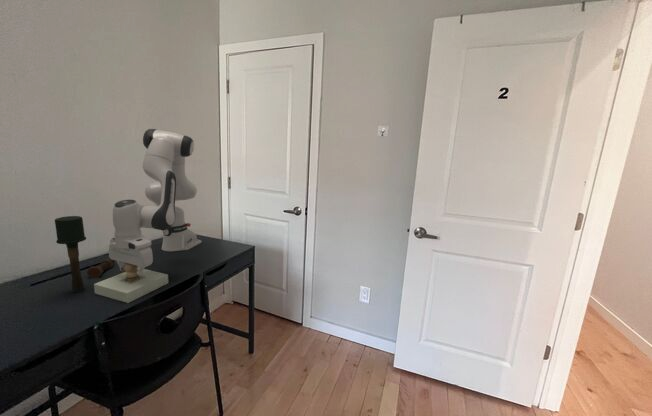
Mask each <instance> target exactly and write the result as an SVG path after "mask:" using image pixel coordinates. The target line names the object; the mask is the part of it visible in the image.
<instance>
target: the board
mask: <svg viewBox="0 0 652 416" xmlns="http://www.w3.org/2000/svg"><path fill="white" fill-rule="evenodd" d="M138 270H139V268H138ZM137 279H138V280H135V281H133V282H129V281H128V279H127V278H126V271H123V272H122V273H119V274H116V275H114V276H112V277H109V278H106V279H104V280H101V281H98V282H96V283H94V284H93V288H94V294H95V295H99V296H103V297H106V298H109V299H112V300H115V301H120V302H123V303H126V304H129V303H131V302H133V301H135V300H137V299H139V298H142V297H144V296H145V295H147V294H149V293H151V292H153V291H155V290H157V289H159V288H161V287H163V286H166V285H167V284H169V274H168V273H163V272H160V271H155V270H151V269H146V268H144V270H143V275H139V276H138V277H137Z"/></svg>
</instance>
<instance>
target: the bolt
mask: <svg viewBox="0 0 652 416" xmlns="http://www.w3.org/2000/svg"><path fill="white" fill-rule="evenodd" d="M115 262H116V260H112V259H110V258H107V259H103V260H102V261H101V262H100V264H99V265H95V266H90V267H88V269H87V272H86V274H87V276H88V277H89V278H90V279H97V278H101V276H102V274H103V273H104V271H105V270H110V269H111V268H112V267H113V265H115Z"/></svg>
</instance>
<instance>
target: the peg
mask: <svg viewBox="0 0 652 416" xmlns="http://www.w3.org/2000/svg"><path fill="white" fill-rule="evenodd" d="M124 264H125V269H126V271H125V272H126V278H127V279H128V281H129V282H133V281H135V280H138V279H137V277H138V276H139V275H137V271H138V266H137V265H133V264H128V263H124Z"/></svg>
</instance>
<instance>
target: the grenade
mask: <svg viewBox="0 0 652 416" xmlns="http://www.w3.org/2000/svg"><path fill="white" fill-rule="evenodd" d="M54 225H55V233H56V240H55V243H56V244H59V245H66V249H67V257H68V259H69V264H70V265H69V266H70V272H71V273H70V274H71V290H72V292H73V293H80V292H82V291H84V289H85V286H84V281H83V277H82V273H81V266H80V257H79V256H80V252H79V243H80V242H83V241H86V240H87V236H86V234H85V228H84V221H83V217H82V216H79V215H70V216H69V215H67V216H61V217H57V218H55V219H54Z"/></svg>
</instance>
